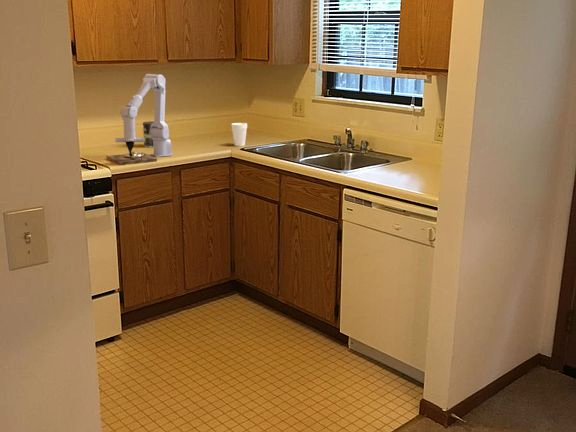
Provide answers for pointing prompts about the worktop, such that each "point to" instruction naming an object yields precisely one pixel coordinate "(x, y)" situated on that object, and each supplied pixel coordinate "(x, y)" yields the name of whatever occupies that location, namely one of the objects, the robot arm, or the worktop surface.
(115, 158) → the walnut stand
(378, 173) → the worktop surface
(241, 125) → the foam cup
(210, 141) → the worktop surface
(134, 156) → the cam dial
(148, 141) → the coffee can
